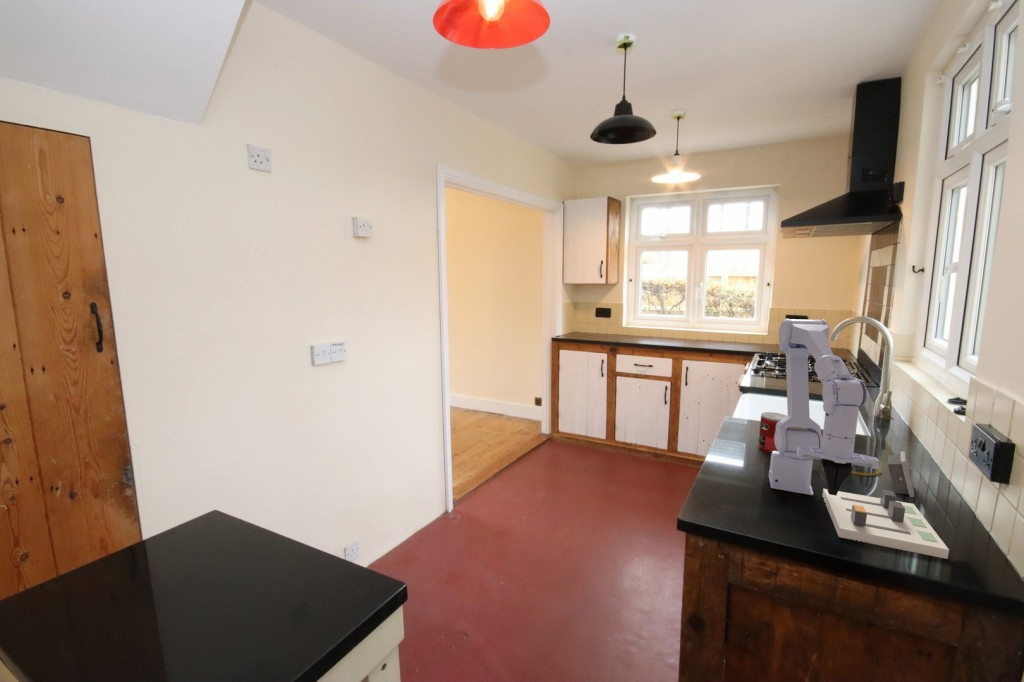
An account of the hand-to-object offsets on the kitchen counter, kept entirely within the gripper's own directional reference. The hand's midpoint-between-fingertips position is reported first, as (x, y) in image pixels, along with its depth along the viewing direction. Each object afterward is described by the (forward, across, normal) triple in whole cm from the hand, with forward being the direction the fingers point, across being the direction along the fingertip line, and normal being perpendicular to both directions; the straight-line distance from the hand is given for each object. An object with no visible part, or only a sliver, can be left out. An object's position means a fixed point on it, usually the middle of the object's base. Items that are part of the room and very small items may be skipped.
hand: (832, 493), depth 103 cm
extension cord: (+9, +14, +42) cm, 45 cm away
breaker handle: (+6, +5, 0) cm, 8 cm away
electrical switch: (+8, +20, +29) cm, 36 cm away
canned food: (+8, -7, +46) cm, 47 cm away
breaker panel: (+8, +10, +6) cm, 14 cm away
